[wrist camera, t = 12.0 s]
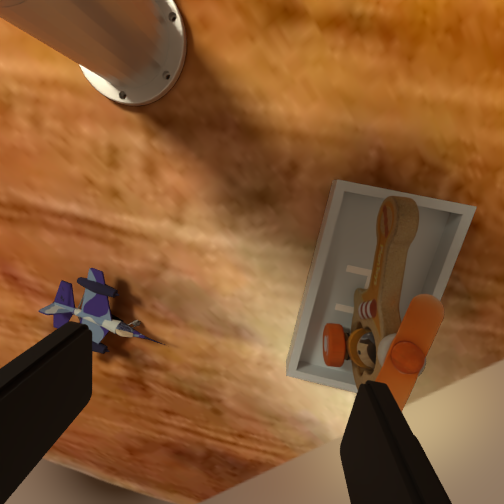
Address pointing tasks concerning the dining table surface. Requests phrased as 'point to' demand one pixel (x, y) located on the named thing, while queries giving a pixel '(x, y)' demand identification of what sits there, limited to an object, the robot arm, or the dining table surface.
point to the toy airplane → (91, 310)
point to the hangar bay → (367, 269)
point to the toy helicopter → (387, 312)
